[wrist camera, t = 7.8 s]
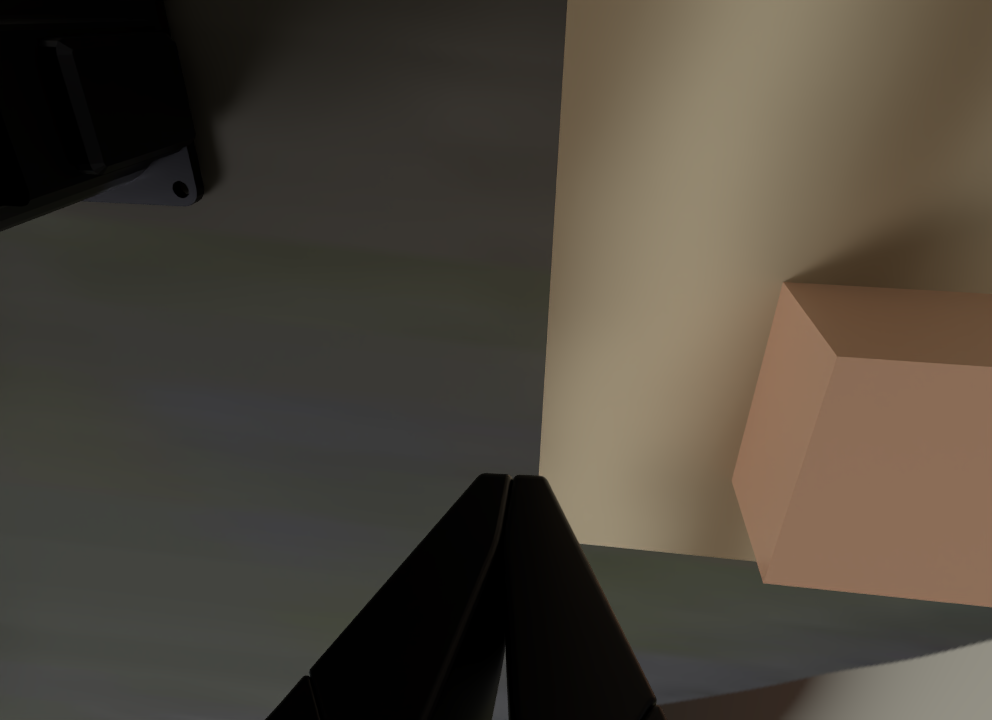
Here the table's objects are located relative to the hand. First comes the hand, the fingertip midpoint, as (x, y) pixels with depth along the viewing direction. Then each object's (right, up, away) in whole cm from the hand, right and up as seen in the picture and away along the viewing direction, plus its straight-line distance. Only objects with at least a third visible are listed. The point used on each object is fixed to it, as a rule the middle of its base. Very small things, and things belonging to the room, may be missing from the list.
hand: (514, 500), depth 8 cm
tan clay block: (+8, +1, +5) cm, 9 cm away
